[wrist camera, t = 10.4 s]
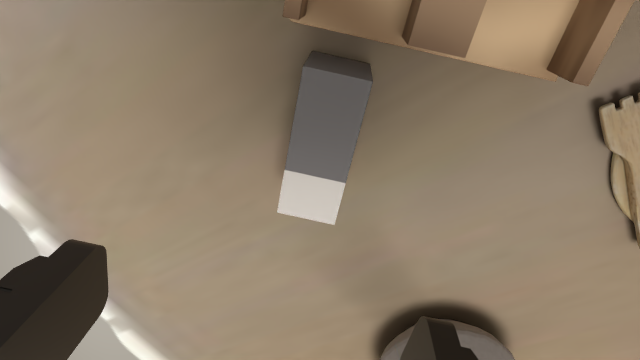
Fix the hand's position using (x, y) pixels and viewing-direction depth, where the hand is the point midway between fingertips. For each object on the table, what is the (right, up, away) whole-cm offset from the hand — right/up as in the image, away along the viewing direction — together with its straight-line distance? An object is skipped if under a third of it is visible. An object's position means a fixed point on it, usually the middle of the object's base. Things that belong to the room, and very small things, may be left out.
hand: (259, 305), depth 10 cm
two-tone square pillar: (+2, +7, +16) cm, 17 cm away
